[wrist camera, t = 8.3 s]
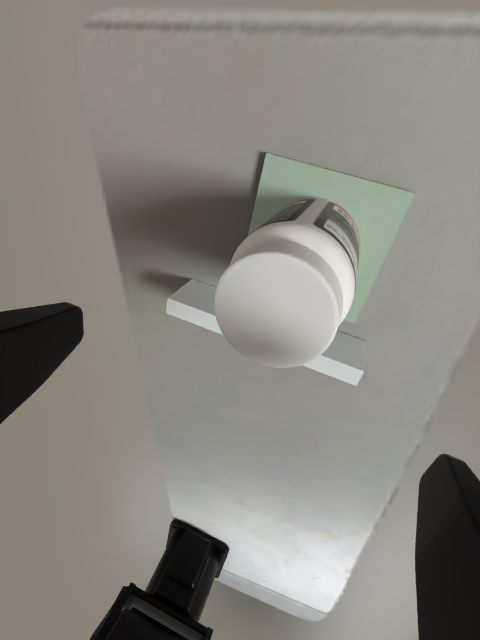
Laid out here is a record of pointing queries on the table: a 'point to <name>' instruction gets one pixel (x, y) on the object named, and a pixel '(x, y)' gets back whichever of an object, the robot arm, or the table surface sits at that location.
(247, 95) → the table surface
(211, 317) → the acrylic wall
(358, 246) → the pill bottle
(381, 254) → the coaster
